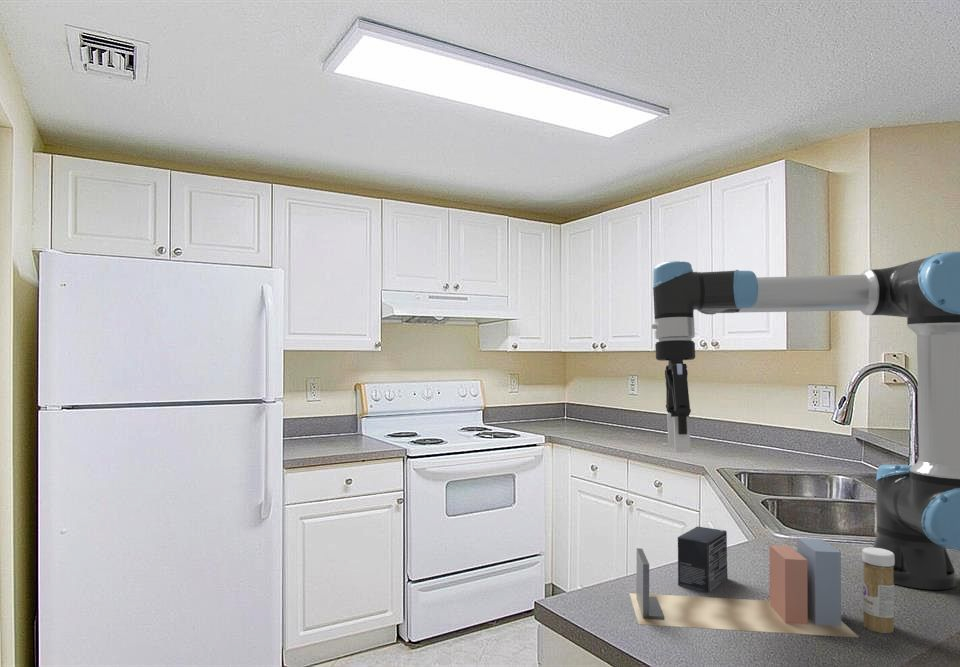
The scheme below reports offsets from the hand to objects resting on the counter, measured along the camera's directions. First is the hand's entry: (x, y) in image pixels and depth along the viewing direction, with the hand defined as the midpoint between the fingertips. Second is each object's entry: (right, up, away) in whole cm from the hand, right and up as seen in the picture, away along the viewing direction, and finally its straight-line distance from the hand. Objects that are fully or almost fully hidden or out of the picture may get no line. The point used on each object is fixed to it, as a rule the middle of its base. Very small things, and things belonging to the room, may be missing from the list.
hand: (678, 448), depth 127 cm
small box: (+5, -27, 0) cm, 28 cm away
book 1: (+14, -26, -16) cm, 33 cm away
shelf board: (+5, -26, -16) cm, 31 cm away
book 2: (+19, -26, -17) cm, 36 cm away
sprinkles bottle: (+26, -27, -21) cm, 43 cm away
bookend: (-9, -25, -14) cm, 31 cm away
